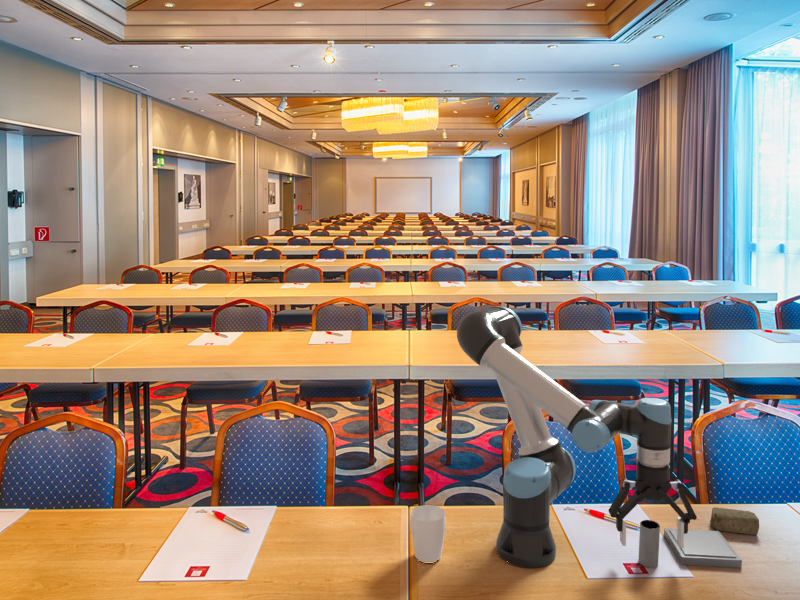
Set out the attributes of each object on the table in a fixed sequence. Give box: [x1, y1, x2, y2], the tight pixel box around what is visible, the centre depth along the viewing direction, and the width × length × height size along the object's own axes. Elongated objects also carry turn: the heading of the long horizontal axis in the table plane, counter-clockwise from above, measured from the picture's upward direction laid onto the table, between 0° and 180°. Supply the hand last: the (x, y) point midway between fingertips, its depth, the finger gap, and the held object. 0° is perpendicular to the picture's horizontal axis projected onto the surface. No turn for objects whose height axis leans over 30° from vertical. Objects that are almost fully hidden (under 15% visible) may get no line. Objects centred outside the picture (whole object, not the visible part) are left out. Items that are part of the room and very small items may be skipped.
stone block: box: [709, 506, 760, 536], centre depth 165 cm, size 6×12×5 cm, turn 74°
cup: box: [409, 504, 447, 562], centre depth 152 cm, size 9×9×12 cm
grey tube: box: [638, 519, 661, 568], centre depth 148 cm, size 4×4×10 cm
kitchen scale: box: [663, 528, 743, 569], centre depth 154 cm, size 14×14×2 cm
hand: (651, 544), depth 148 cm, fingers open, 13 cm apart
